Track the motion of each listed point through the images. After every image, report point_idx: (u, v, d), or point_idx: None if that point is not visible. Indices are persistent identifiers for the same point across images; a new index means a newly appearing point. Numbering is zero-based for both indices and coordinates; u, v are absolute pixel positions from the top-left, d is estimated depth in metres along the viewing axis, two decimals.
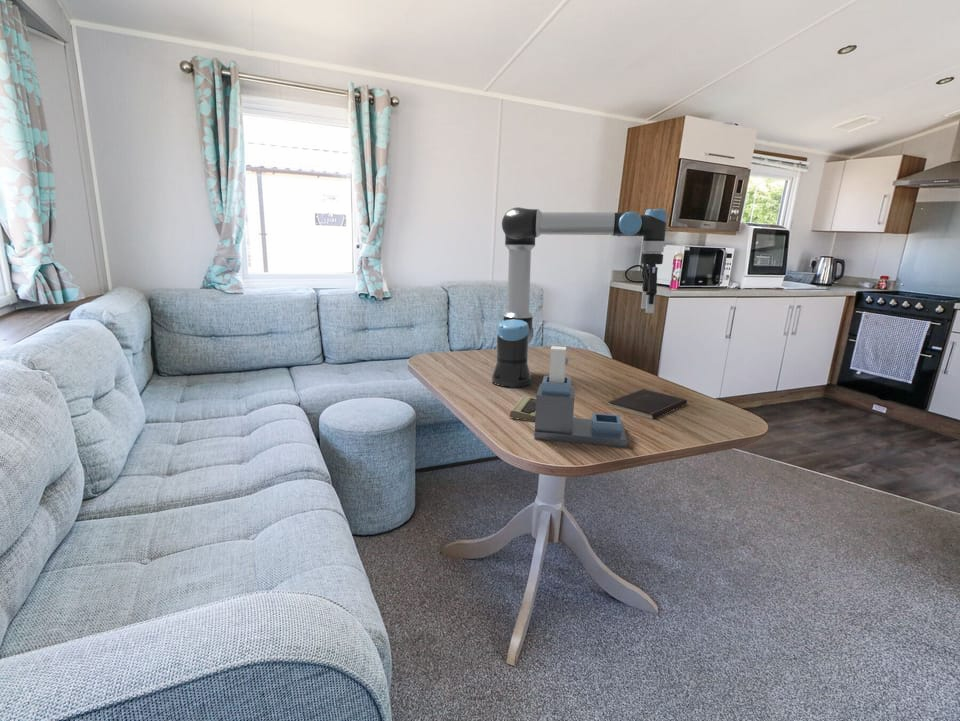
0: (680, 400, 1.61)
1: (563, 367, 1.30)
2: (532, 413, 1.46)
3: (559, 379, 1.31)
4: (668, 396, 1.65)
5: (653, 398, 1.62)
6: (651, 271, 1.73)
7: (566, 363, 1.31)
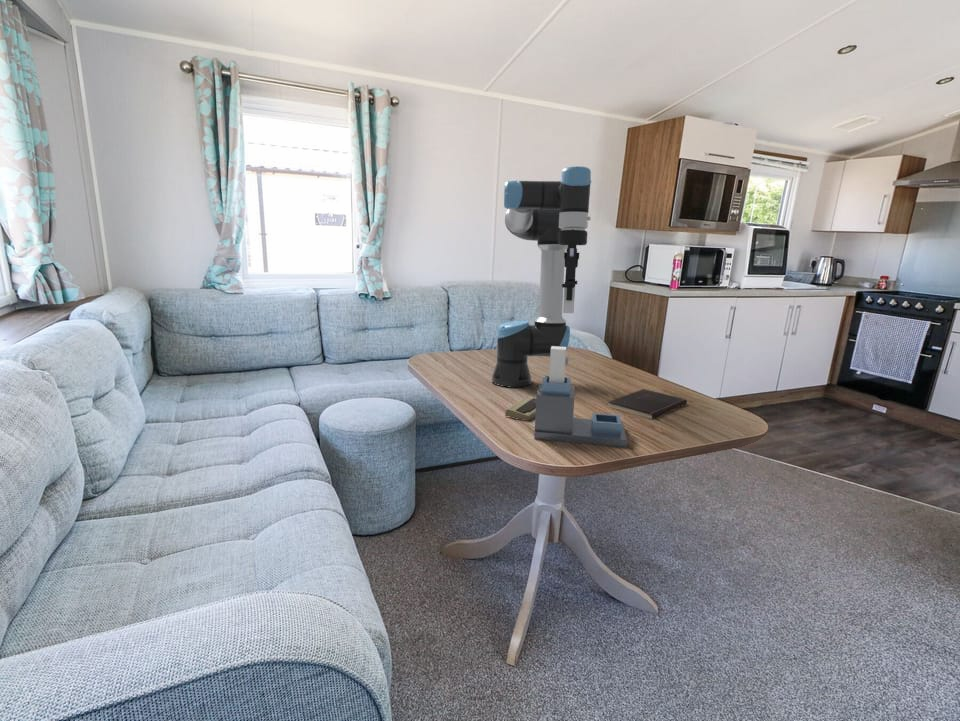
0: (680, 400, 1.61)
1: (563, 367, 1.30)
2: (527, 413, 1.46)
3: (559, 379, 1.31)
4: (668, 396, 1.65)
5: (653, 398, 1.62)
6: (568, 254, 1.23)
7: (566, 363, 1.31)
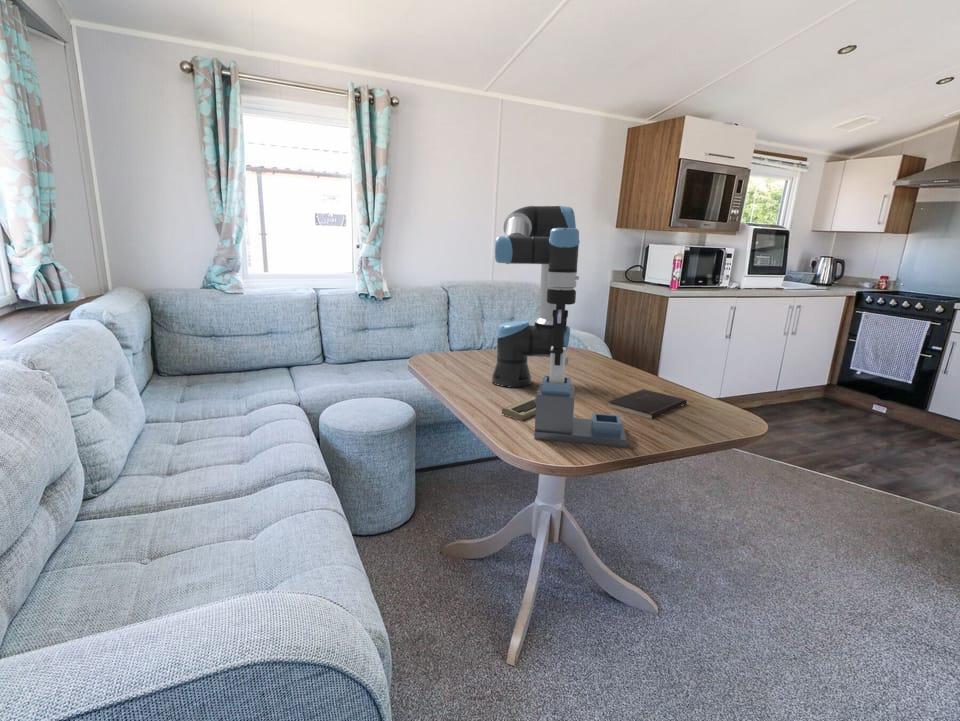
0: (680, 400, 1.61)
1: (563, 367, 1.30)
2: (522, 412, 1.46)
3: (559, 379, 1.31)
4: (668, 396, 1.65)
5: (653, 398, 1.63)
6: (556, 322, 1.24)
7: (566, 363, 1.31)
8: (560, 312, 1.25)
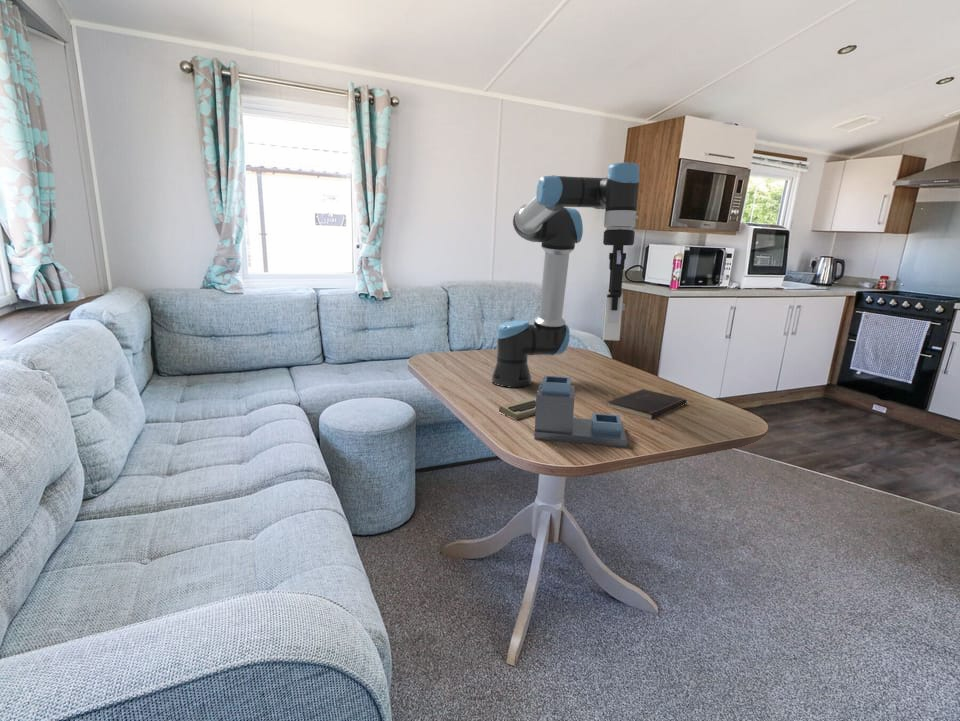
0: (680, 400, 1.61)
1: (620, 313, 1.24)
2: (517, 412, 1.47)
3: (615, 326, 1.25)
4: (668, 396, 1.65)
5: (653, 398, 1.63)
6: (615, 262, 1.18)
7: (623, 309, 1.25)
8: (619, 252, 1.19)
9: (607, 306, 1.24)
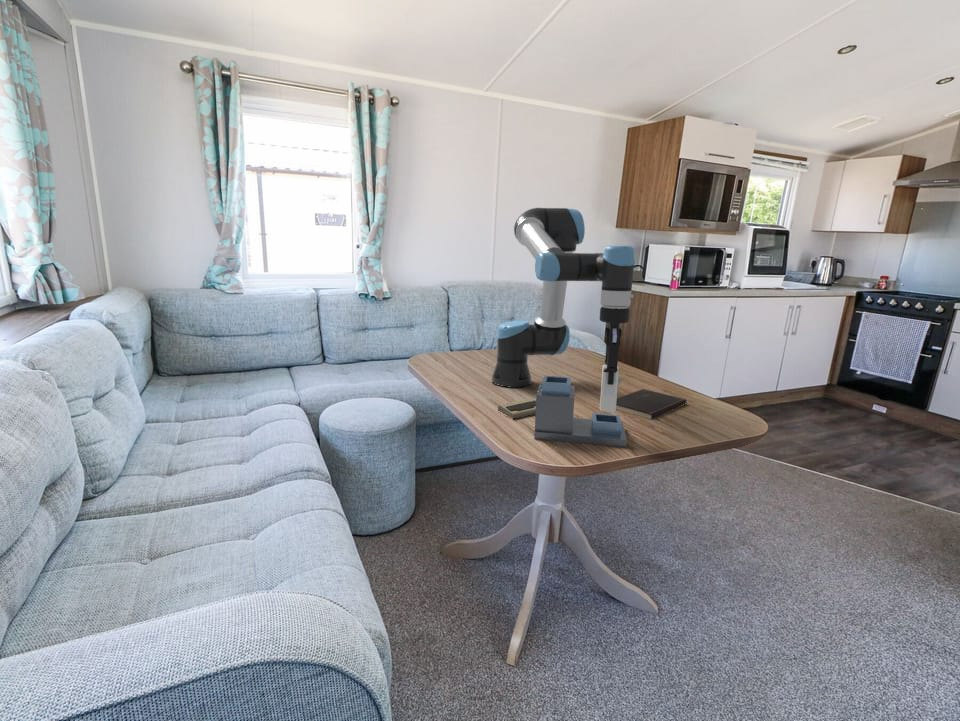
0: (679, 400, 1.61)
1: (616, 386, 1.28)
2: (514, 411, 1.47)
3: (612, 398, 1.29)
4: (668, 396, 1.65)
5: (653, 398, 1.63)
6: (611, 341, 1.22)
7: (619, 382, 1.29)
8: (615, 331, 1.23)
9: (603, 379, 1.29)
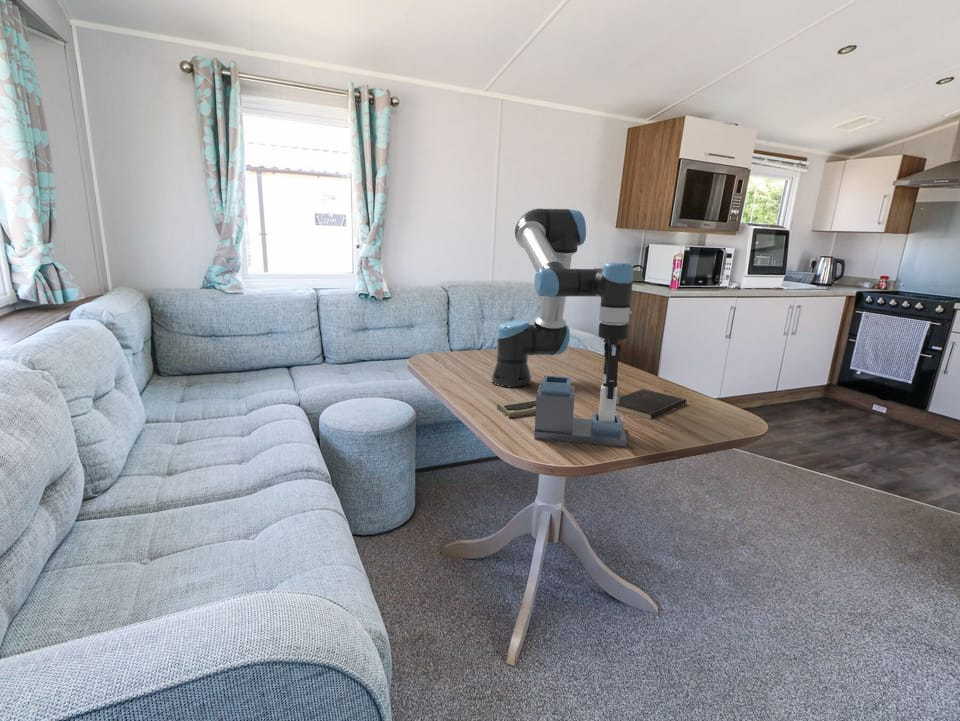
0: (679, 400, 1.61)
1: None
2: (511, 410, 1.48)
3: (610, 419, 1.31)
4: (668, 396, 1.65)
5: (652, 398, 1.63)
6: (610, 354, 1.22)
7: (617, 402, 1.30)
8: None
9: (602, 400, 1.30)
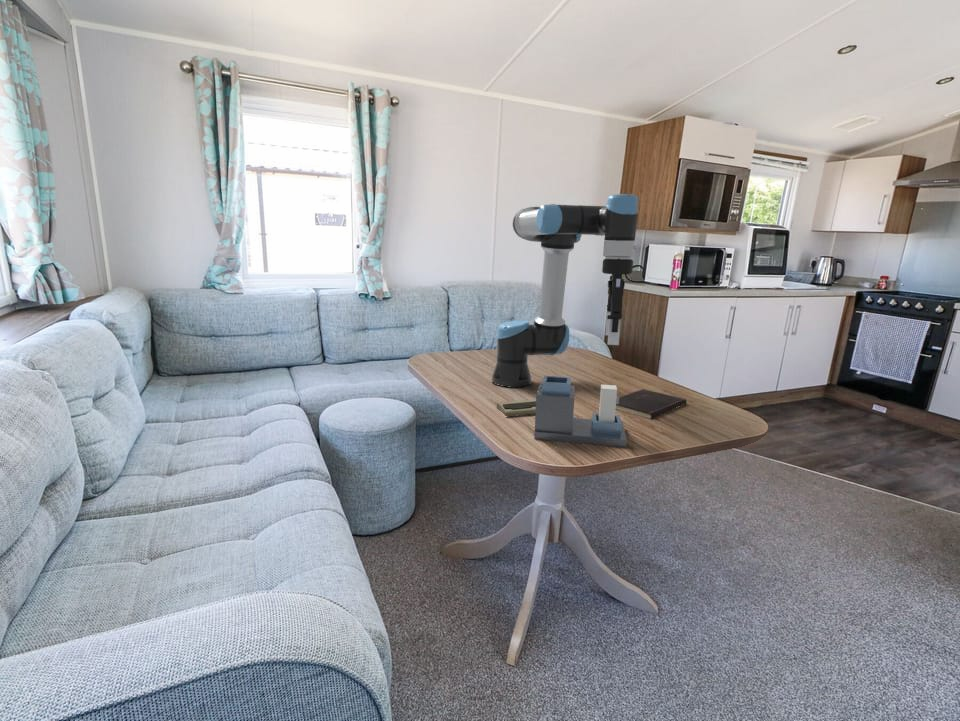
0: (679, 400, 1.61)
1: (614, 406, 1.30)
2: (508, 409, 1.49)
3: (610, 419, 1.31)
4: (667, 396, 1.65)
5: (652, 398, 1.63)
6: (614, 285, 1.19)
7: (617, 402, 1.30)
8: None
9: (602, 400, 1.30)
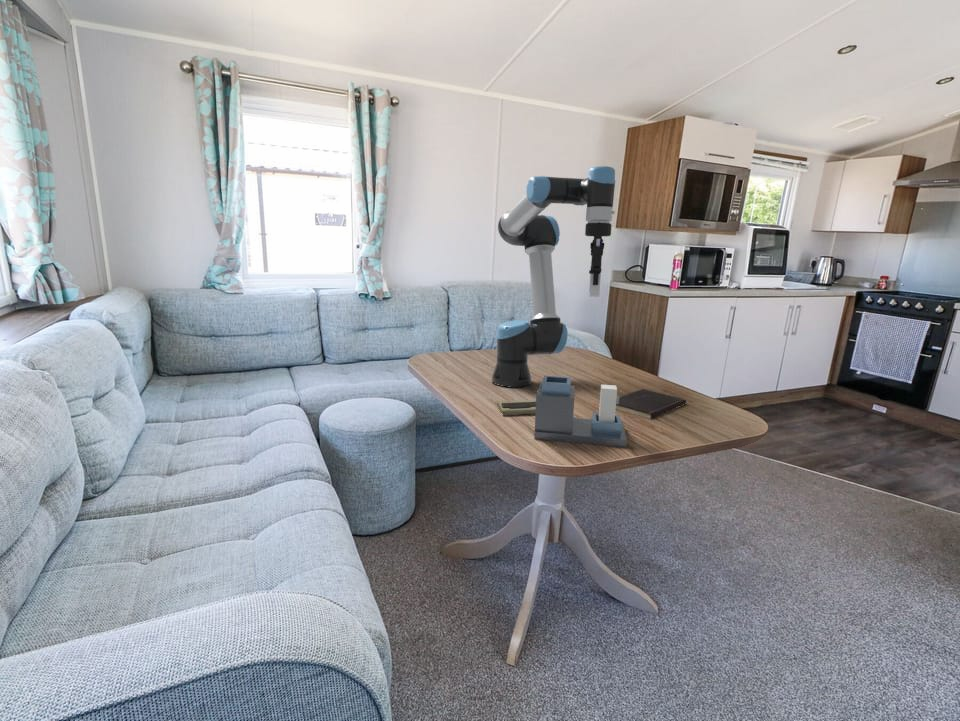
0: (679, 400, 1.61)
1: (614, 406, 1.30)
2: (506, 408, 1.50)
3: (610, 419, 1.31)
4: (667, 396, 1.65)
5: (652, 398, 1.63)
6: (595, 244, 1.39)
7: (617, 402, 1.30)
8: None
9: (602, 400, 1.30)
